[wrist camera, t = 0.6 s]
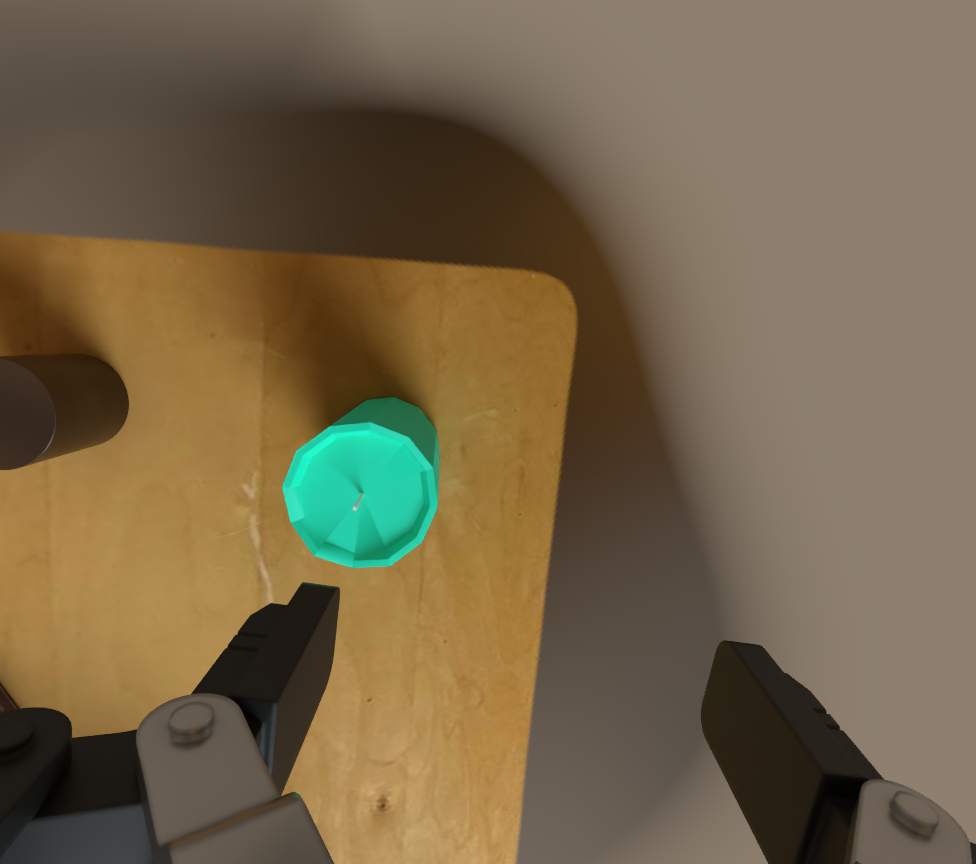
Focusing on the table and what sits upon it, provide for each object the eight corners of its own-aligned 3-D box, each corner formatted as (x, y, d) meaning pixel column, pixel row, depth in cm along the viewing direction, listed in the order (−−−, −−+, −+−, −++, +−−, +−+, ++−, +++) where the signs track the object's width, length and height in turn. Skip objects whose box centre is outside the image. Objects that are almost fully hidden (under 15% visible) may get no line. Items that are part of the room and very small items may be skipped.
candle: (339, 388, 32) (279, 415, 20) (447, 405, 33) (449, 439, 21) (327, 493, 33) (261, 576, 21) (431, 507, 33) (425, 596, 22)
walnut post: (48, 338, 31) (-47, 337, 25) (142, 376, 31) (71, 384, 25) (18, 424, 31) (-82, 443, 25) (111, 460, 32) (34, 487, 26)
